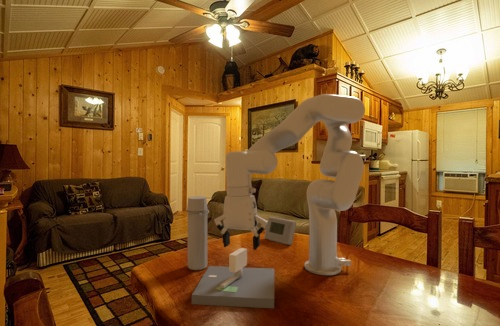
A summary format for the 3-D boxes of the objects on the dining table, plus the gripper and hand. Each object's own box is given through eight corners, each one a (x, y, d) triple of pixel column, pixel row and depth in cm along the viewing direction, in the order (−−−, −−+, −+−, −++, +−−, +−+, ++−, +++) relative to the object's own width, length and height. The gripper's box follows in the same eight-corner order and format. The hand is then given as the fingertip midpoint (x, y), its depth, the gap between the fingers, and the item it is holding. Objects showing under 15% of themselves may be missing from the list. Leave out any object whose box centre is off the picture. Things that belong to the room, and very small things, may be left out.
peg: (240, 272, 89) (240, 247, 89) (247, 274, 88) (247, 248, 88) (218, 288, 78) (218, 260, 78) (225, 290, 77) (225, 261, 77)
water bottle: (184, 265, 102) (184, 196, 101) (205, 262, 105) (205, 195, 104) (189, 275, 93) (189, 200, 93) (212, 271, 96) (212, 199, 96)
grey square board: (274, 276, 92) (274, 268, 92) (274, 308, 72) (274, 298, 72) (209, 273, 94) (209, 265, 94) (191, 304, 74) (191, 294, 74)
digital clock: (262, 238, 135) (262, 217, 135) (276, 236, 140) (277, 214, 140) (284, 247, 122) (284, 223, 122) (299, 244, 127) (299, 221, 127)
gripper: (269, 190, 86) (271, 245, 86) (219, 189, 92) (221, 241, 92) (262, 194, 79) (264, 254, 79) (208, 193, 85) (210, 248, 85)
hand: (241, 247), depth 86 cm, fingers open, 9 cm apart
